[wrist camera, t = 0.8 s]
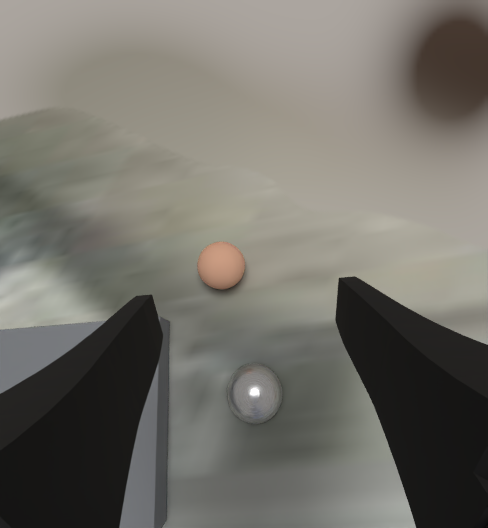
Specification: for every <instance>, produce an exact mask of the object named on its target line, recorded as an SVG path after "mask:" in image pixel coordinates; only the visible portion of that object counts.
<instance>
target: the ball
mask: <svg viewBox="0 0 488 528" xmlns="http://www.w3.org/2000/svg"><path fill="white" fill-rule="evenodd" d="M197 267H198V273H199V275H200V277H201V279H202V280H203V281H204V282H205V283H206V284H207V285H208V286H210V287H212V288H216V289H227V288H230V287H232V286H234V285H235V284H237V283H238V282H239V281H240V279H241V278H242V276H243V274H244V271H245V260H244V257H243V255H242V253H241V252H240V250H239V249H238V248H237V247H235V246H234V245H232V244H230V243H227V242H216V243H213V244H210V245H209V246H207V247H206V248H205V249H204V250H203V251H202V252H201V254H200V256H199V259H198V264H197Z"/></svg>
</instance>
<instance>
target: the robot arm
mask: <svg viewBox="0 0 488 528" xmlns="http://www.w3.org/2000/svg"><path fill="white" fill-rule="evenodd" d="M336 323H337V327H338V330H339V333H340V336H341V338H342V341H343V344H344V346H345V348H346V350H347V352H348V354H349V356H350V358H351V360H352V362H353V364H354V366H355V368H356V370H357V372H358V374H359V376H360V378H361V380H362V382H363V384H364V386H365V388H366V390H367V392H368V394H369V396H370V398H371V400H372V403H373V405H374V407H375V410H376V412H377V415H378V417H379V420H380V423H381V425H382V428H383V431H384V433H385V436H386V439H387V441H388V444H389V447H390V450H391V453H392V455H393V458H394V461H395V464H396V467H397V469H398V472H399V475H400V478H401V481H402V484H403V487H404V490H405V493H406V496H407V499H408V502H409V505H410V509H411V512H412V515H413V518H414V521H415V525H416V528H488V345H486V344H484V343H481V342H478V341H476V340H473V339H471V338H468V337H466V336H463V335H461V334H459V333H457V332H454V331H452V330H450V329H448V328H445V327H443V326H441V325H439V324H437V323H435V322H433V321H431V320H429V319H427V318H425V317H423V316H421V315H419V314H417V313H416V312H414V311H412V310H410V309H408V308H406V307H405V306H403V305H401V304H399V303H398V302H396V301H394V300H393V299H391V298H389V297H388V296H386V295H385V294H383V293H381V292H380V291H378V290H377V289H375V288H373V287H372V286H370V285H369V284H367V283H365V282H364V281H362V280H360V279H358V278H357V277H345V278H339V283H338V295H337V308H336ZM162 341H163V332H162V329H161V325H160V322H159V318H158V314H157V311H156V307H155V304H154V300H153V297H152V295H142V296H136V297H134V298H133V299H132V300H130V301H129V302H128V303H127V304H126V305H124V306H123V307H122V308H121V309H120V310H119V311H117V312H116V313H115V314H114V315H113V316H112V317H110V318H109V319H108V320H107V321H106V322H105V323H103V324H102V325H101V326H100V327H99V328H98V329H96V330H95V331H94V332H93V333H91V334H90V335H89V336H87V337H86V338H85V339H84V340H82V341H81V342H80V343H79V344H77V345H76V346H75V347H73V348H72V349H71V350H69V351H68V352H67V353H65V354H64V355H62V356H61V357H59V358H58V359H56V360H55V361H53V362H52V363H51V364H49V365H48V366H46V367H45V368H43V369H41V370H40V371H38V372H37V373H35V374H33V375H32V376H30V377H28V378H26V379H25V380H23V381H21V382H20V383H18V384H16V385H15V386H13V387H11V388H10V389H8V390H6V391H4V392H3V393H1V394H0V528H119V527H120V521H121V515H122V509H123V503H124V497H125V491H126V485H127V480H128V475H129V469H130V464H131V459H132V454H133V449H134V444H135V440H136V435H137V430H138V426H139V422H140V419H141V415H142V412H143V409H144V406H145V403H146V399H147V396H148V393H149V390H150V387H151V384H152V381H153V378H154V375H155V371H156V368H157V365H158V362H159V358H160V353H161V347H162Z"/></svg>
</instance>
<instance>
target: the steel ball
mask: <svg viewBox="0 0 488 528" xmlns="http://www.w3.org/2000/svg"><path fill="white" fill-rule="evenodd" d="M227 397H228V402H229V405H230V407H231V409H232V411H233V412H234V414H235V415H236V416H237V417H238V418H240V419H241V420H243V421H245V422H247V423H251V424H259V423H263V422H266V421H268V420H269V419H271V418H272V417H273V416H274V415H275V414H276V413H277V411H278V410H279V408H280V405H281V402H282V386H281V383H280V380H279V378H278V377H277V375H276V374H275V373H274V372H273V371H272V370H271V369H270V368H268V367H267V366H264V365H262V364H256V363H252V364H247V365H245V366H242V367H241V368H239V369H238V370H237V371H236V372H235V373H234V374H233V376H232V377H231V379H230V381H229V384H228V389H227Z"/></svg>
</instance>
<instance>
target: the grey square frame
mask: <svg viewBox="0 0 488 528" xmlns="http://www.w3.org/2000/svg"><path fill="white" fill-rule="evenodd" d="M158 318H159V322H160V325H161V329H162V332H163V341H162V347H161V353H160V358H159V362H158V365H157V368H156V371H155V375H154V378H153V381H152V384H151V387H150V390H149V393H148V396H147V399H146V403H145V406H144V409H143V412H142V415H141V419H140V422H139V426H138V430H137V435H136V440H135V444H134V449H133V454H132V459H131V464H130V469H129V475H128V480H127V485H126V491H125V497H124V503H123V509H122V515H121V521H120V527H119V528H162V526H163V525H164V523H165V522H166V509H167V446H168V384H169V321H168V320H166V319H164V318H162V317H158ZM105 322H106V321H101V322H89V323H77V324H65V325H53V326H41V327H29V328H17V329H5V330H0V394H1V393H3V392H4V391H6V390H8V389H10V388H11V387H13V386H15V385H16V384H18V383H20V382H21V381H23V380H25V379H26V378H28V377H30V376H32V375H33V374H35V373H37V372H38V371H40V370H41V369H43V368H45V367H46V366H48V365H49V364H51V363H52V362H53V361H55V360H56V359H58V358H59V357H61V356H62V355H64V354H65V353H67V352H68V351H69V350H71V349H72V348H73V347H75V346H76V345H77V344H79V343H80V342H81V341H82V340H84V339H85V338H86V337H87V336H89V335H90V334H91V333H93V332H94V331H95V330H96V329H98V328H99V327H100V326H101V325H102V324H103V323H105Z"/></svg>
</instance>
